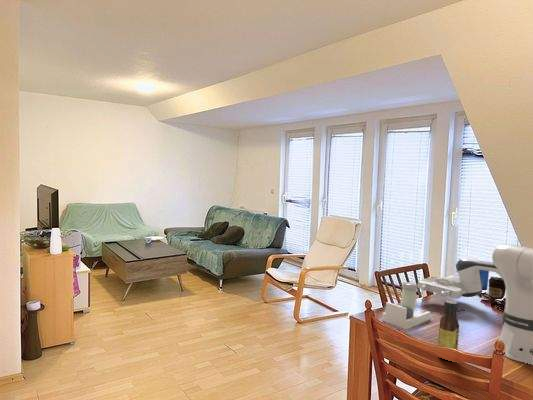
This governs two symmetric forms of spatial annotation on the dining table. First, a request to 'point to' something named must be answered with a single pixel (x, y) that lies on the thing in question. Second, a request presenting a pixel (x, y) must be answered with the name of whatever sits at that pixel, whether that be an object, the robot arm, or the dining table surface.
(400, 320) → the pusher lane
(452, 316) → the sauce bottle
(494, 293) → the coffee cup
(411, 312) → the pusher
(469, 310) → the dining table surface
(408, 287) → the jar
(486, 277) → the beer can
